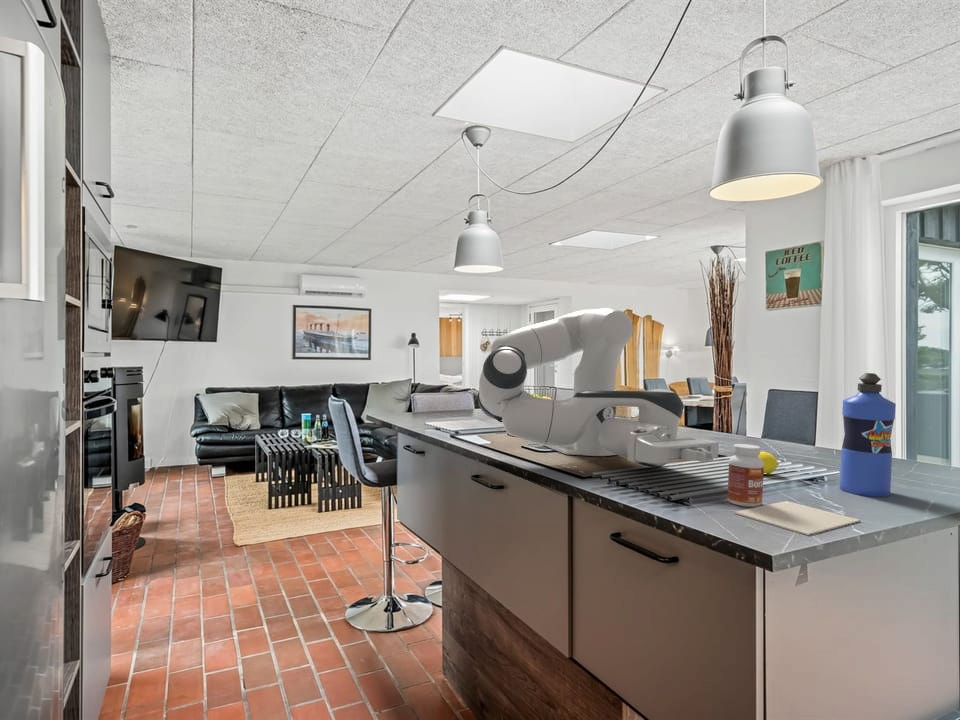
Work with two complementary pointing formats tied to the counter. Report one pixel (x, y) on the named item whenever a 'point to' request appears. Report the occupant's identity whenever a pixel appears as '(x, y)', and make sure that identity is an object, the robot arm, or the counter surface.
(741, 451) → the pill bottle
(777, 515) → the mat
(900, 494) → the counter surface
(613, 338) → the robot arm
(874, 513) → the counter surface
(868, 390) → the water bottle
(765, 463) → the lemon
